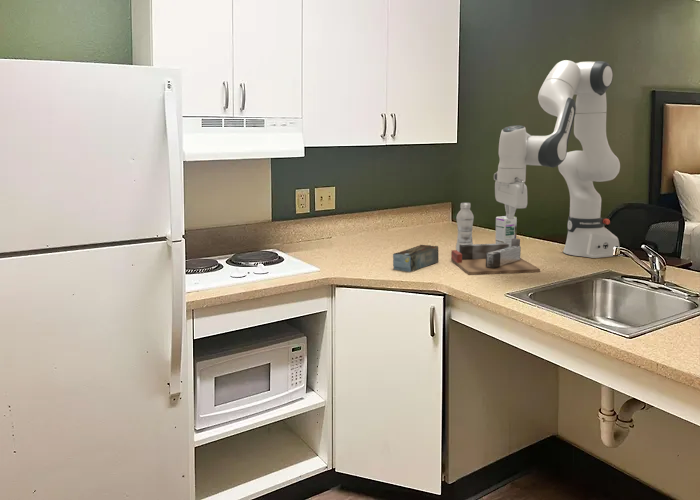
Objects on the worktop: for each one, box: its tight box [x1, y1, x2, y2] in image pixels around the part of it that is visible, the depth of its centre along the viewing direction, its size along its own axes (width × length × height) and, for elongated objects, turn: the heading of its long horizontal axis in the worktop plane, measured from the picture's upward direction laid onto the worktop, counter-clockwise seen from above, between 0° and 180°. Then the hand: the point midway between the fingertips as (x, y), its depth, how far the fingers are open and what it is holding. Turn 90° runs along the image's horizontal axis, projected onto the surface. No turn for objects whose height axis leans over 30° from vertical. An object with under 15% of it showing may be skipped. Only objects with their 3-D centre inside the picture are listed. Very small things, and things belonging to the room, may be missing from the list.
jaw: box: [486, 245, 522, 269], centre depth 221 cm, size 18×3×5 cm, turn 134°
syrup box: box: [494, 215, 518, 247], centre depth 242 cm, size 6×6×14 cm
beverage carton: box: [392, 244, 440, 273], centre depth 225 cm, size 8×19×7 cm, turn 141°
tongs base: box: [450, 238, 541, 276], centre depth 222 cm, size 25×22×8 cm
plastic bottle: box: [455, 202, 475, 252], centre depth 241 cm, size 6×7×20 cm
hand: (510, 218), depth 206 cm, fingers closed
